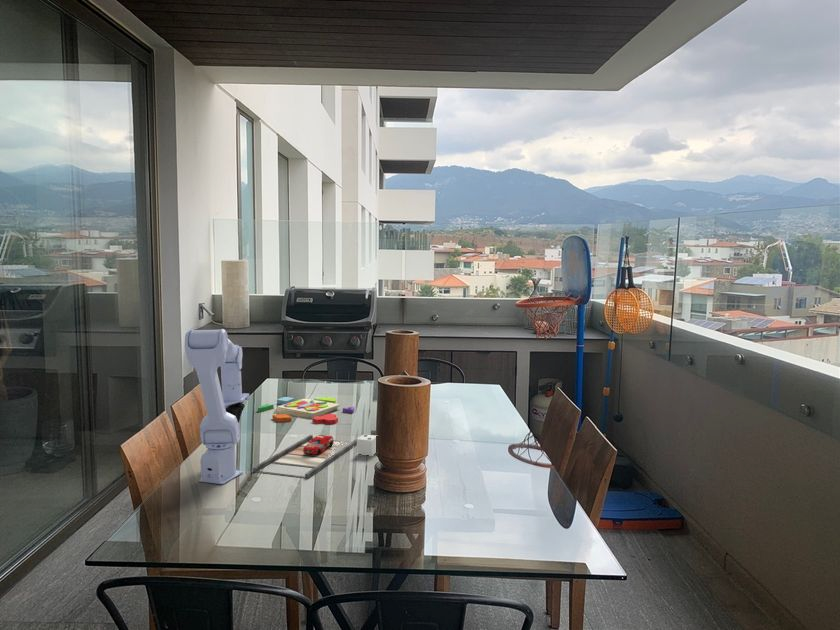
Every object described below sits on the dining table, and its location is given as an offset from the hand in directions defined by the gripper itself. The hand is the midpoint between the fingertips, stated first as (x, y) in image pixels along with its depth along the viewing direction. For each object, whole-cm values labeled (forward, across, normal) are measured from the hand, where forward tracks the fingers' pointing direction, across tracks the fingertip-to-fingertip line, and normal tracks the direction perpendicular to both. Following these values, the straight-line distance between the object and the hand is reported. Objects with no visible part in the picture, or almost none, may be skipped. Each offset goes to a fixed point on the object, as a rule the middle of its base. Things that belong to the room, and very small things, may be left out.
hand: (233, 428), depth 189 cm
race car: (+10, +14, -21) cm, 27 cm away
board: (+9, +8, -21) cm, 24 cm away
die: (+9, +16, -37) cm, 41 cm away
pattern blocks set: (+10, +56, +7) cm, 57 cm away
